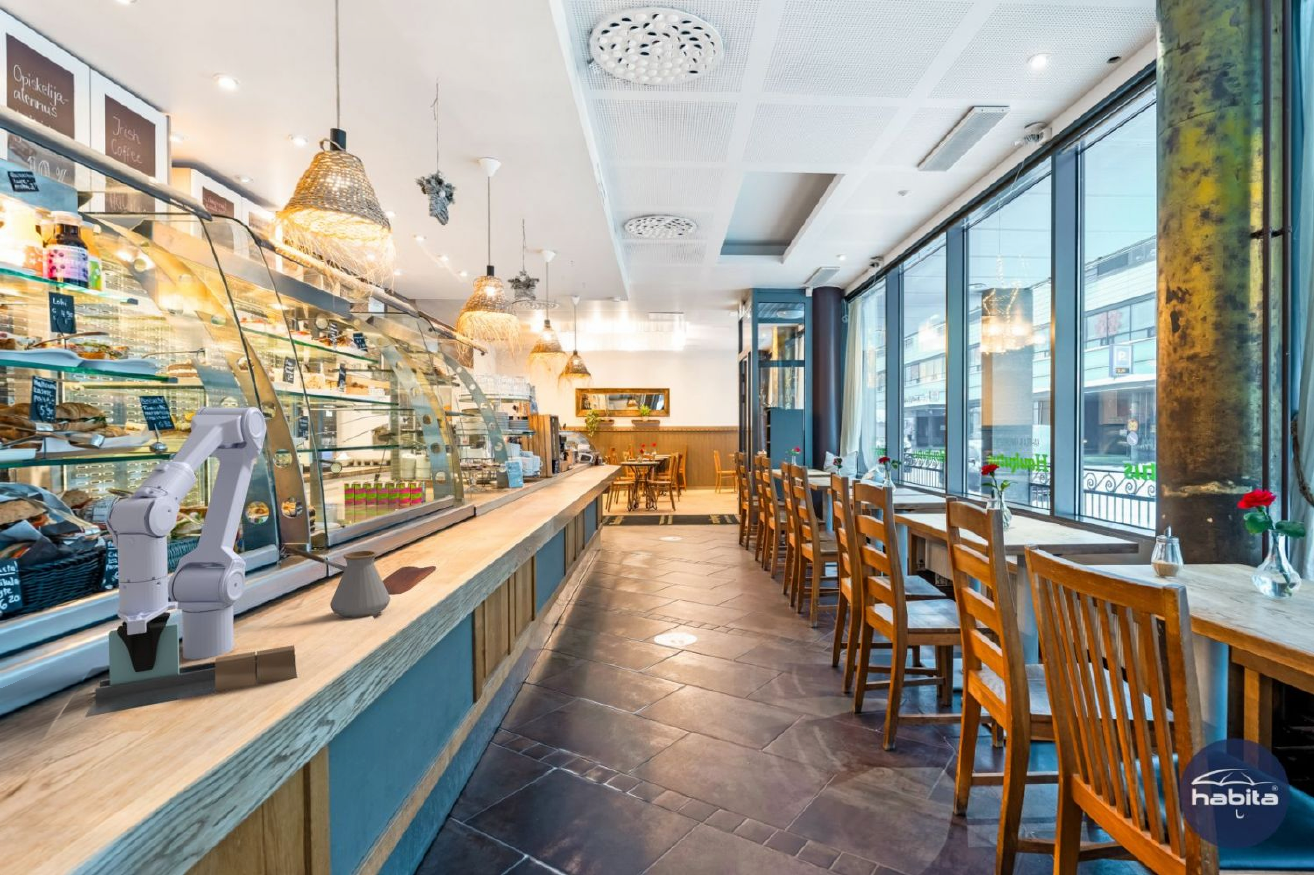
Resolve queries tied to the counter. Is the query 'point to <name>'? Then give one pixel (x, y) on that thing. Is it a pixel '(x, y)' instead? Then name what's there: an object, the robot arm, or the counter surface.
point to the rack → (157, 689)
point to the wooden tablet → (406, 579)
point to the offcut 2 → (275, 664)
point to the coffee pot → (355, 584)
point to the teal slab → (163, 665)
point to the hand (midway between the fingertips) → (145, 667)
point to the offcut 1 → (235, 671)
